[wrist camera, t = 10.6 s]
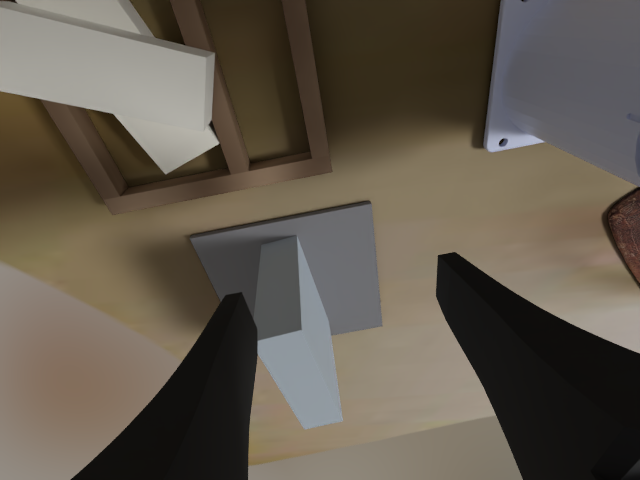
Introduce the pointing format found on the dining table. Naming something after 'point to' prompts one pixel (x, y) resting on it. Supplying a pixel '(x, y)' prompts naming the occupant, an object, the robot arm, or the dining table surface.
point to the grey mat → (321, 255)
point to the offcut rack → (239, 170)
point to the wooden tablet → (628, 229)
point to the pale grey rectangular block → (296, 334)
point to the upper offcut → (104, 68)
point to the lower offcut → (155, 138)
